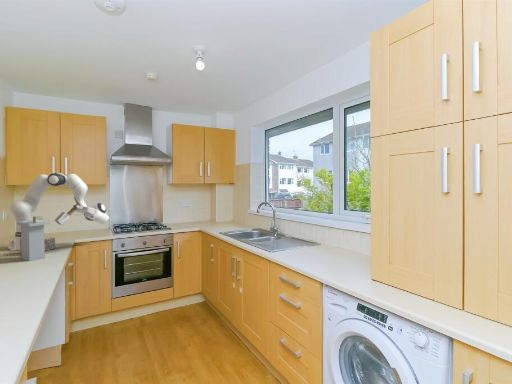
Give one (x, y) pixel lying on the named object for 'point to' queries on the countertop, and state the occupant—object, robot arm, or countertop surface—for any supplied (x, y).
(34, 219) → the sage cube
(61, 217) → the steel-headed mallet
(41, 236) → the grey pedestal
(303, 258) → the countertop surface
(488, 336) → the countertop surface
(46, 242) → the stack of blocks
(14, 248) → the robot arm
